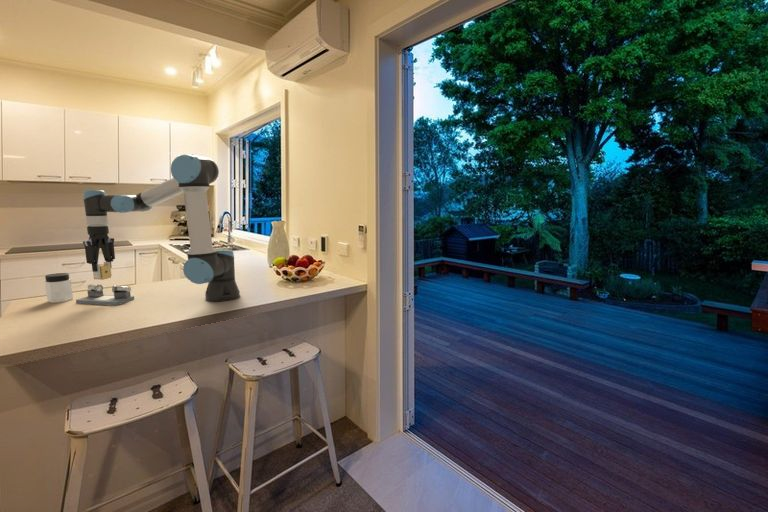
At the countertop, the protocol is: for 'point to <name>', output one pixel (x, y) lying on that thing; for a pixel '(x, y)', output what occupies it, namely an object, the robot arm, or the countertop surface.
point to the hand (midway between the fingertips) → (103, 277)
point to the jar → (58, 287)
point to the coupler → (104, 271)
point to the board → (104, 300)
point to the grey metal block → (121, 292)
